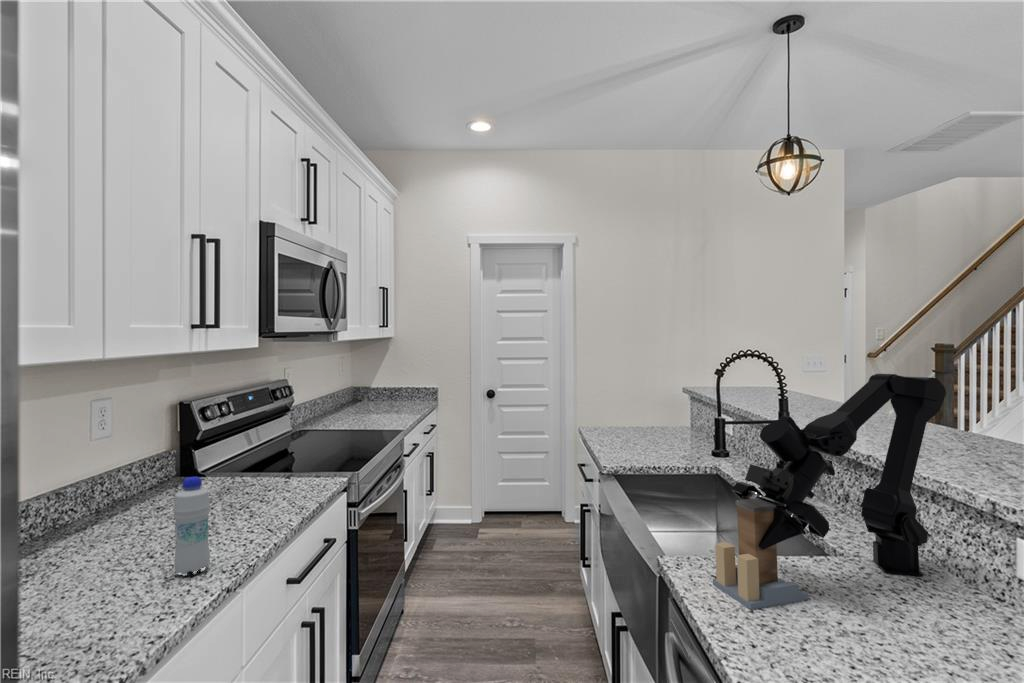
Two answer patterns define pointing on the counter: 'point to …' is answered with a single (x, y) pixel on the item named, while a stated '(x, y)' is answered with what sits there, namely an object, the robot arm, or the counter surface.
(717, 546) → the base with wooden posts
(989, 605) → the counter surface
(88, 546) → the counter surface
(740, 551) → the rail end
